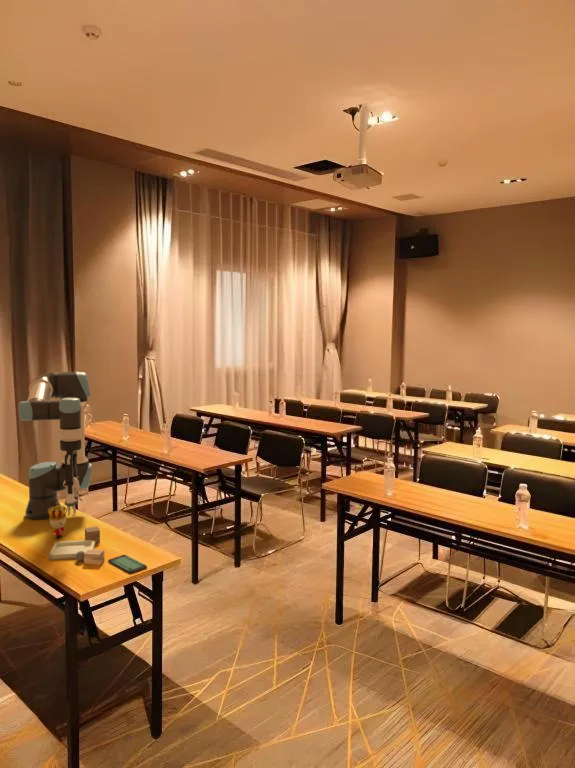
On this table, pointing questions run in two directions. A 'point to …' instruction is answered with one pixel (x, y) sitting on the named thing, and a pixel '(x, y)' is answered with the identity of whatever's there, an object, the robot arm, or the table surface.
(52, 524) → the toy
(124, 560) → the smartphone
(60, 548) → the tray
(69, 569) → the table surface
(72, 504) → the figurine
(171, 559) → the table surface
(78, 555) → the grey ball
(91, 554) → the maple block
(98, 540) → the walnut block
